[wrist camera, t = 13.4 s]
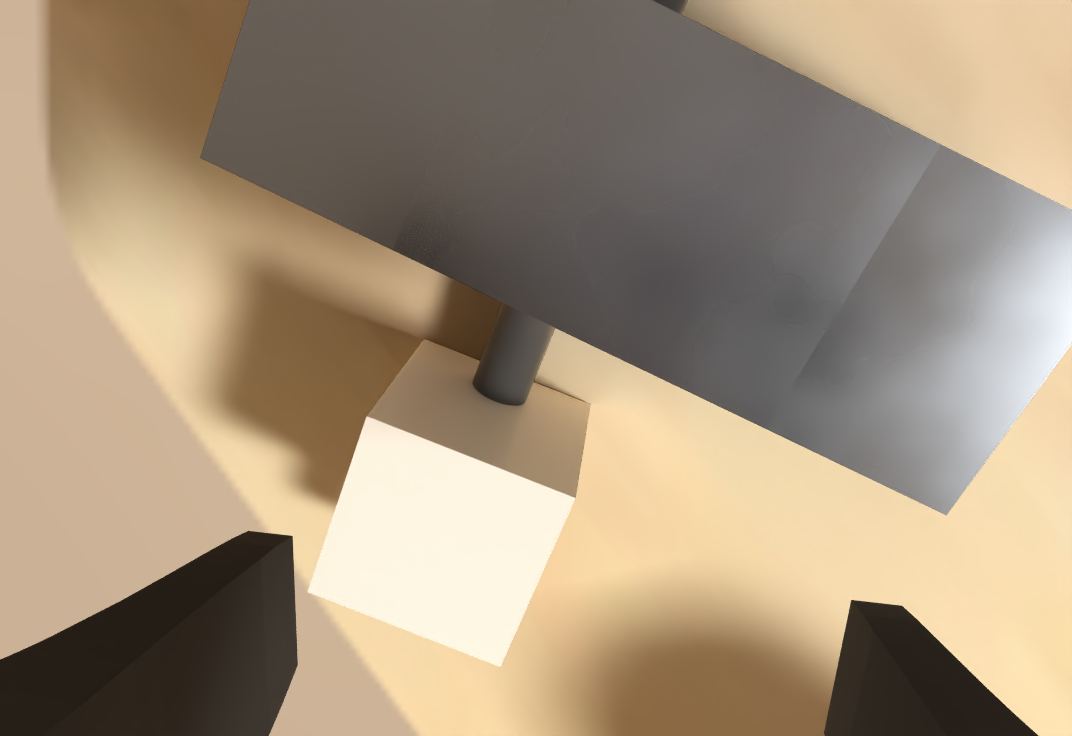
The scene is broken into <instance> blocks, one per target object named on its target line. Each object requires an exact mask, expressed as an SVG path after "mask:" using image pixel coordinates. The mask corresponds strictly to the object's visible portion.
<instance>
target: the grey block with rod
mask: <svg viewBox="0 0 1072 736" xmlns="http://www.w3.org/2000/svg"><path fill="white" fill-rule="evenodd" d="M653 1H655V2H657V3H659V4H661V5H663V6H665V7H667V8H669V9H671V10H673V11H675V12H677V13H679V14H681V15H682V13H683V11H684V8H685V6H686V3H687V1H688V0H653ZM554 330H555V328H554V327H552V326H550V325H548V324H546V323H544V322H542V321H540V320H538V319H536V318H534V317H531V316H529V315H527V314H525V313H523V312H521V311H519V310H517V309H515V308H513V307H511V306H508V305H506V304H504V303H502V305H501V307H500V310H499V313H498V315H497V318H496V321H495V323H494V326H493V329H492V331H491V334H490V336H489V339H488V342H487V344H486V347H485V350H484V352H483V355H482V358H481V360H480V361H479V360H477V359H474V358H472V357H469V356H466V355H464V354H461V353H459V352H456V351H454V350H451V349H449V348H446V347H444V346H441V345H439V344H436V343H434V342H431V341H428V340H426V339H424V340H423V341H422V342H421V344H420V345H419V346H418V348H417V349H416V350H415V352H414V353H413V354H412V356H411V357H410V358H409V360H408V361H407V362H406V364H405V365H404V366H403V368H402V369H401V371H400V372H399V373H398V375H397V376H396V377H395V379H394V380H393V381H392V383H391V384H390V385H389V387H388V388H387V389H386V391H385V392H384V393H383V395H382V396H381V397H380V399H379V400H378V401H377V403H376V404H375V406H374V407H373V408H372V410H371V411H370V412H369V414H368V415H367V416H366V419H365V422H364V425H363V428H362V431H361V434H360V437H359V440H358V443H357V446H356V449H355V452H354V455H353V458H352V461H351V464H350V467H349V470H348V473H347V476H346V479H345V482H344V485H343V488H342V491H341V494H340V497H339V500H338V503H337V506H336V509H335V512H334V515H333V518H332V521H331V524H330V527H329V530H328V533H327V536H326V539H325V542H324V545H323V548H322V551H321V554H320V557H319V560H318V563H317V566H316V569H315V572H314V575H313V578H312V581H311V583H310V586H309V589H308V592H309V593H311V594H314V595H316V596H319V597H322V598H324V599H327V600H329V601H332V602H334V603H337V604H340V605H342V606H345V607H347V608H350V609H353V610H355V611H358V612H360V613H363V614H365V615H368V616H371V617H373V618H376V619H378V620H381V621H383V622H386V623H389V624H391V625H394V626H396V627H399V628H401V629H404V630H407V631H409V632H412V633H414V634H417V635H419V636H422V637H425V638H427V639H430V640H432V641H435V642H438V643H440V644H443V645H445V646H448V647H450V648H453V649H456V650H458V651H461V652H463V653H466V654H468V655H471V656H474V657H476V658H479V659H481V660H484V661H486V662H489V663H492V664H494V665H497V666H499V667H501V664H502V662H503V660H504V658H505V655H506V653H507V651H508V649H509V646H510V644H511V642H512V640H513V638H514V635H515V633H516V631H517V629H518V626H519V624H520V622H521V620H522V617H523V615H524V613H525V611H526V608H527V606H528V604H529V602H530V599H531V597H532V595H533V593H534V590H535V588H536V586H537V584H538V581H539V579H540V577H541V575H542V572H543V570H544V568H545V566H546V563H547V561H548V559H549V557H550V554H551V552H552V550H553V548H554V545H555V543H556V541H557V539H558V536H559V534H560V532H561V530H562V527H563V525H564V523H565V521H566V519H567V516H568V514H569V512H570V510H571V507H572V505H573V503H574V501H575V498H576V492H577V486H578V480H579V474H580V467H581V461H582V455H583V449H584V442H585V436H586V430H587V424H588V417H589V411H590V405H591V404H588V403H586V402H583V401H581V400H578V399H576V398H573V397H570V396H568V395H565V394H563V393H560V392H558V391H555V390H553V389H550V388H548V387H545V386H543V385H540V384H537V383H535V382H534V380H535V377H536V375H537V372H538V370H539V367H540V365H541V362H542V360H543V357H544V355H545V352H546V350H547V347H548V345H549V342H550V340H551V337H552V335H553V333H554Z"/></svg>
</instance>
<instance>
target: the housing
mask: <svg viewBox="0 0 1072 736" xmlns="http://www.w3.org/2000/svg"><path fill="white" fill-rule="evenodd" d="M200 158H202V159H204V160H206V161H208V162H210V163H212V164H214V165H216V166H218V167H220V168H223V169H225V170H227V171H229V172H231V173H233V174H235V175H237V176H239V177H241V178H243V179H245V180H248V181H250V182H252V183H254V184H256V185H258V186H260V187H262V188H264V189H266V190H268V191H271V192H273V193H275V194H277V195H279V196H281V197H283V198H285V199H287V200H289V201H291V202H293V203H296V204H298V205H300V206H302V207H304V208H306V209H308V210H310V211H312V212H314V213H316V214H319V215H321V216H323V217H325V218H327V219H329V220H331V221H333V222H335V223H337V224H339V225H341V226H344V227H346V228H348V229H350V230H352V231H354V232H356V233H358V234H360V235H362V236H364V237H367V238H369V239H371V240H373V241H375V242H377V243H379V244H381V245H383V246H385V247H387V248H390V249H392V250H394V251H396V252H398V253H400V254H402V255H404V256H406V257H408V258H410V259H412V260H415V261H417V262H419V263H421V264H423V265H425V266H427V267H429V268H431V269H433V270H435V271H438V272H440V273H442V274H444V275H446V276H448V277H450V278H452V279H454V280H456V281H458V282H460V283H463V284H465V285H467V286H469V287H471V288H473V289H475V290H477V291H479V292H481V293H483V294H486V295H488V296H490V297H492V298H494V299H496V300H498V301H500V302H502V303H504V304H506V305H508V306H511V307H513V308H515V309H517V310H519V311H521V312H523V313H525V314H527V315H529V316H531V317H534V318H536V319H538V320H540V321H542V322H544V323H546V324H548V325H550V326H552V327H554V328H556V329H559V330H561V331H563V332H565V333H567V334H569V335H571V336H573V337H575V338H577V339H579V340H582V341H584V342H586V343H588V344H590V345H592V346H594V347H596V348H598V349H600V350H602V351H605V352H607V353H609V354H611V355H613V356H615V357H617V358H619V359H621V360H623V361H625V362H627V363H630V364H632V365H634V366H636V367H638V368H640V369H642V370H644V371H646V372H648V373H650V374H653V375H655V376H657V377H659V378H661V379H663V380H665V381H667V382H669V383H671V384H673V385H675V386H678V387H680V388H682V389H684V390H686V391H688V392H690V393H692V394H694V395H696V396H698V397H701V398H703V399H705V400H707V401H709V402H711V403H713V404H715V405H717V406H719V407H721V408H723V409H726V410H728V411H730V412H732V413H734V414H736V415H738V416H740V417H742V418H744V419H746V420H749V421H751V422H753V423H755V424H757V425H759V426H761V427H763V428H765V429H767V430H769V431H772V432H774V433H776V434H778V435H780V436H782V437H784V438H786V439H788V440H790V441H792V442H794V443H797V444H799V445H801V446H803V447H805V448H807V449H809V450H811V451H813V452H815V453H817V454H820V455H822V456H824V457H826V458H828V459H830V460H832V461H834V462H836V463H838V464H840V465H842V466H845V467H847V468H849V469H851V470H853V471H855V472H857V473H859V474H861V475H863V476H865V477H868V478H870V479H872V480H874V481H876V482H878V483H880V484H882V485H884V486H886V487H888V488H890V489H893V490H895V491H897V492H899V493H901V494H903V495H905V496H907V497H909V498H911V499H913V500H916V501H918V502H920V503H922V504H924V505H926V506H928V507H930V508H932V509H934V510H936V511H939V512H941V513H943V514H945V515H947V514H948V512H949V511H950V510H951V508H952V507H953V506H954V504H955V503H956V502H957V500H958V499H959V497H960V496H961V495H962V493H963V492H964V491H965V489H966V488H967V486H968V485H969V484H970V482H971V481H972V480H973V478H974V477H975V476H976V474H977V473H978V471H979V470H980V469H981V467H982V466H983V465H984V463H985V462H986V460H987V459H988V458H989V456H990V455H991V454H992V452H993V451H994V450H995V448H996V447H997V445H998V444H999V443H1000V441H1001V440H1002V439H1003V437H1004V436H1005V434H1006V433H1007V432H1008V430H1009V429H1010V428H1011V426H1012V425H1013V424H1014V422H1015V421H1016V419H1017V418H1018V417H1019V415H1020V414H1021V413H1022V411H1023V410H1024V409H1025V407H1026V406H1027V404H1028V403H1029V402H1030V400H1031V399H1032V398H1033V396H1034V395H1035V393H1036V392H1037V391H1038V389H1039V388H1040V387H1041V385H1042V384H1043V383H1044V381H1045V380H1046V378H1047V377H1048V376H1049V374H1050V373H1051V372H1052V370H1053V369H1054V367H1055V366H1056V365H1057V363H1058V362H1059V361H1060V359H1061V358H1062V357H1063V355H1064V354H1065V352H1066V351H1067V350H1068V348H1069V347H1070V346H1071V344H1072V210H1071V209H1069V208H1067V207H1065V206H1063V205H1061V204H1059V203H1057V202H1055V201H1053V200H1051V199H1049V198H1047V197H1045V196H1043V195H1041V194H1039V193H1037V192H1035V191H1033V190H1031V189H1029V188H1027V187H1025V186H1023V185H1021V184H1019V183H1017V182H1015V181H1013V180H1011V179H1009V178H1007V177H1005V176H1003V175H1001V174H999V173H997V172H995V171H993V170H991V169H989V168H987V167H985V166H983V165H981V164H979V163H977V162H975V161H973V160H971V159H969V158H967V157H965V156H963V155H961V154H959V153H957V152H955V151H953V150H951V149H949V148H947V147H945V146H943V145H941V144H939V143H937V142H935V141H933V140H931V139H929V138H927V137H925V136H923V135H921V134H919V133H917V132H915V131H913V130H911V129H909V128H907V127H905V126H903V125H901V124H899V123H897V122H895V121H893V120H891V119H889V118H887V117H885V116H883V115H881V114H879V113H877V112H875V111H873V110H871V109H869V108H867V107H865V106H863V105H861V104H859V103H857V102H855V101H853V100H851V99H849V98H847V97H845V96H843V95H841V94H839V93H837V92H835V91H833V90H831V89H829V88H827V87H825V86H823V85H821V84H819V83H817V82H815V81H813V80H811V79H809V78H807V77H805V76H803V75H801V74H799V73H797V72H795V71H793V70H791V69H789V68H787V67H785V66H783V65H781V64H779V63H777V62H775V61H773V60H771V59H769V58H767V57H765V56H763V55H761V54H759V53H757V52H755V51H753V50H751V49H749V48H747V47H745V46H743V45H741V44H739V43H737V42H735V41H733V40H731V39H729V38H727V37H725V36H723V35H721V34H719V33H717V32H715V31H713V30H711V29H709V28H707V27H705V26H703V25H701V24H699V23H697V22H695V21H693V20H691V19H689V18H687V17H685V16H683V15H681V14H679V13H677V12H675V11H673V10H671V9H669V8H667V7H665V6H663V5H661V4H659V3H657V2H655V1H653V0H250V2H249V5H248V8H247V12H246V15H245V18H244V21H243V24H242V27H241V30H240V34H239V37H238V40H237V43H236V46H235V49H234V53H233V56H232V59H231V62H230V65H229V68H228V72H227V75H226V78H225V81H224V84H223V87H222V90H221V94H220V97H219V100H218V103H217V106H216V109H215V113H214V116H213V119H212V122H211V125H210V128H209V132H208V135H207V138H206V141H205V144H204V147H203V151H202V154H201V157H200Z"/></svg>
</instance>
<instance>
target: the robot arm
mask: <svg viewBox="0 0 1072 736" xmlns="http://www.w3.org/2000/svg"><path fill="white" fill-rule="evenodd" d="M294 587H295V586H294V561H293V536H288V535H279V534H270V533H261V532H252V531H247V532H245V533H243V534H241V535H239V536H237V537H235V538H233V539H231V540H229V541H227V542H225V543H223V544H221V545H220V546H218V547H216V548H214V549H212V550H210V551H209V552H207V553H205V554H203V555H202V556H200V557H198V558H196V559H195V560H193V561H191V562H189V563H188V564H186V565H184V566H182V567H181V568H179V569H177V570H175V571H174V572H172V573H170V574H169V575H166V576H165V577H163V578H161V579H159V580H158V581H156V582H154V583H152V584H150V585H149V586H147V587H145V588H143V589H141V590H140V591H138V592H136V593H134V594H132V595H131V596H129V597H127V598H125V599H124V600H122V601H120V602H118V603H116V604H114V605H112V606H110V607H108V608H106V609H104V610H102V611H100V612H98V613H96V614H95V615H92V616H91V617H88V618H86V619H85V620H83V621H81V622H79V623H77V624H75V625H73V626H71V627H69V628H67V629H65V630H63V631H61V632H59V633H57V634H55V635H53V636H51V637H49V638H47V639H45V640H43V641H41V642H39V643H37V644H34V645H32V646H30V647H28V648H26V649H23V650H21V651H19V652H17V653H14V654H12V655H10V656H8V657H5V658H3V659H1V660H0V736H269V734H270V732H271V729H272V727H273V724H274V722H275V720H276V718H277V715H278V713H279V710H280V708H281V706H282V703H283V701H284V698H285V696H286V693H287V691H288V688H289V686H290V683H291V680H292V678H293V675H294V673H295V670H296V668H297V665H298V662H297V637H296V612H295V588H294ZM824 734H825V736H1038V735H1037V734H1036V733H1035V732H1034V731H1033V730H1031V729H1030V728H1029V727H1028V726H1027V725H1026V724H1025V723H1024V722H1023V721H1021V720H1020V719H1019V718H1018V717H1017V716H1016V715H1015V714H1014V713H1013V712H1012V711H1011V710H1010V709H1008V708H1007V707H1006V706H1005V705H1004V704H1003V703H1002V702H1001V701H1000V700H999V699H998V698H997V697H996V696H995V695H994V694H993V693H992V692H990V691H989V690H988V689H987V688H986V687H985V686H984V685H983V684H982V683H981V682H980V681H979V680H978V679H977V678H976V677H975V676H974V675H973V674H972V673H971V672H970V671H969V670H968V669H967V668H966V667H965V666H964V665H963V664H962V663H961V662H960V661H959V660H958V659H957V658H956V657H955V656H954V655H953V654H952V653H950V652H949V651H948V650H947V649H946V648H945V647H944V646H943V645H942V644H941V643H940V642H939V641H938V640H937V639H936V638H935V637H934V636H933V635H932V634H931V633H930V632H929V631H928V630H927V629H926V628H925V627H924V626H923V625H922V624H921V623H920V622H919V621H918V620H917V619H916V618H915V617H914V616H913V615H912V614H910V613H909V612H908V611H907V610H906V609H905V608H904V607H903V606H899V605H890V604H881V603H872V602H864V601H855V600H851V604H850V609H849V614H848V619H847V624H846V629H845V634H844V638H843V643H842V648H841V653H840V658H839V663H838V668H837V673H836V677H835V682H834V687H833V692H832V697H831V702H830V707H829V712H828V716H827V721H826V726H825V731H824Z"/></svg>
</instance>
